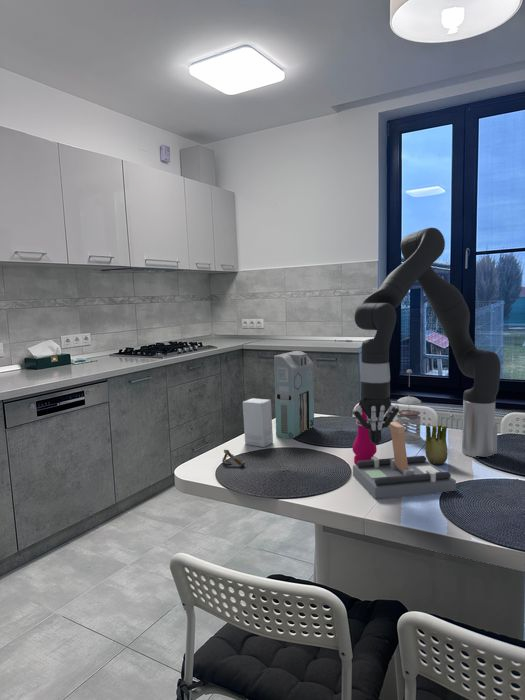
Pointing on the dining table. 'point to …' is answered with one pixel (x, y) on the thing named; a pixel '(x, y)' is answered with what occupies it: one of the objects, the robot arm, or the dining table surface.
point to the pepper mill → (363, 443)
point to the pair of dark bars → (405, 478)
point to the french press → (410, 418)
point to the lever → (399, 446)
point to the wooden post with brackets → (232, 458)
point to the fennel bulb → (436, 445)
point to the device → (293, 393)
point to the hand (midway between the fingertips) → (374, 442)
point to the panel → (369, 475)
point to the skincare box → (257, 422)
